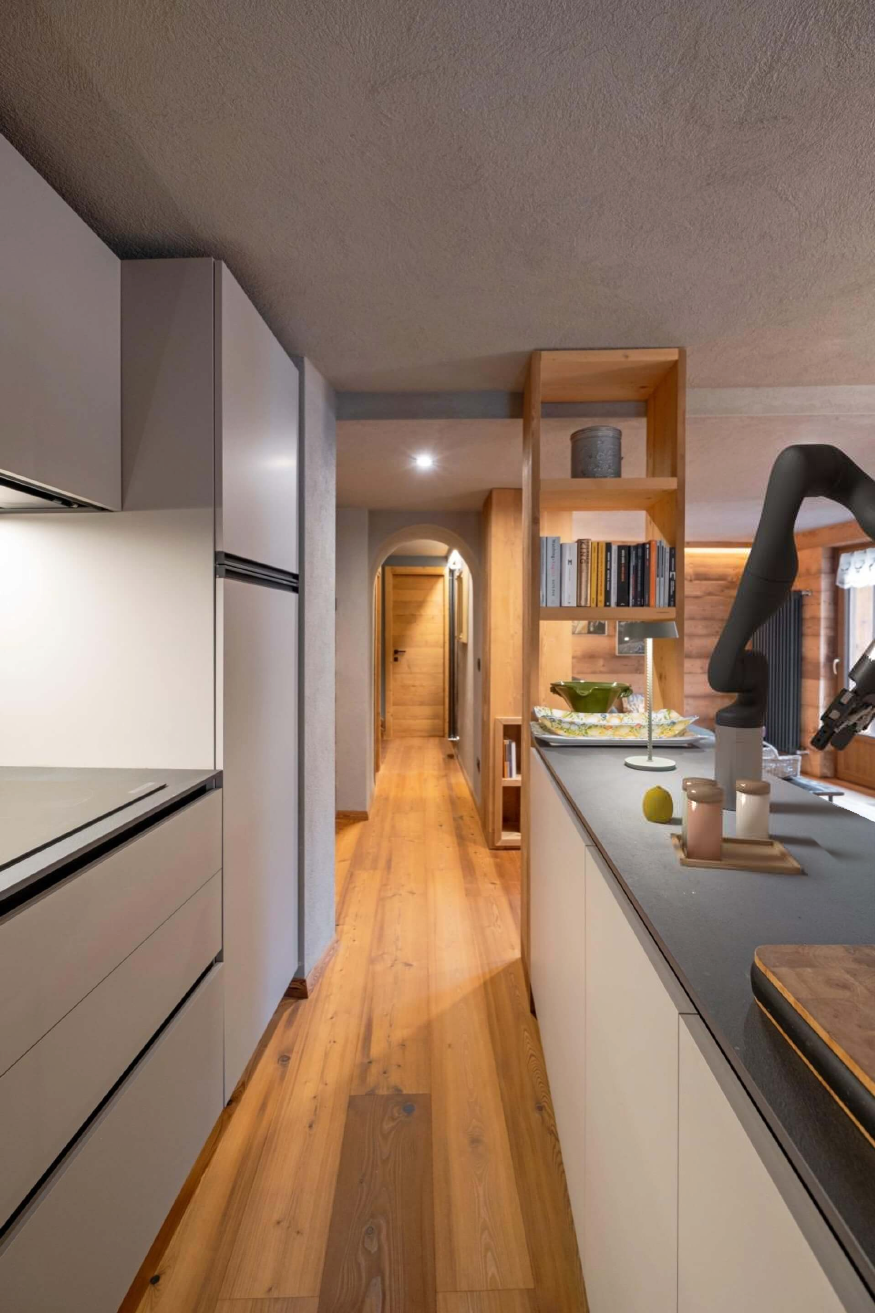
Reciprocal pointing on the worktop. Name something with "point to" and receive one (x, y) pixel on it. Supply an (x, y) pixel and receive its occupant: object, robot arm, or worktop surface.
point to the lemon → (658, 805)
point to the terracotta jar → (704, 822)
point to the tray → (744, 856)
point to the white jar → (752, 808)
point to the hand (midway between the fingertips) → (825, 747)
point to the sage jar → (686, 783)
